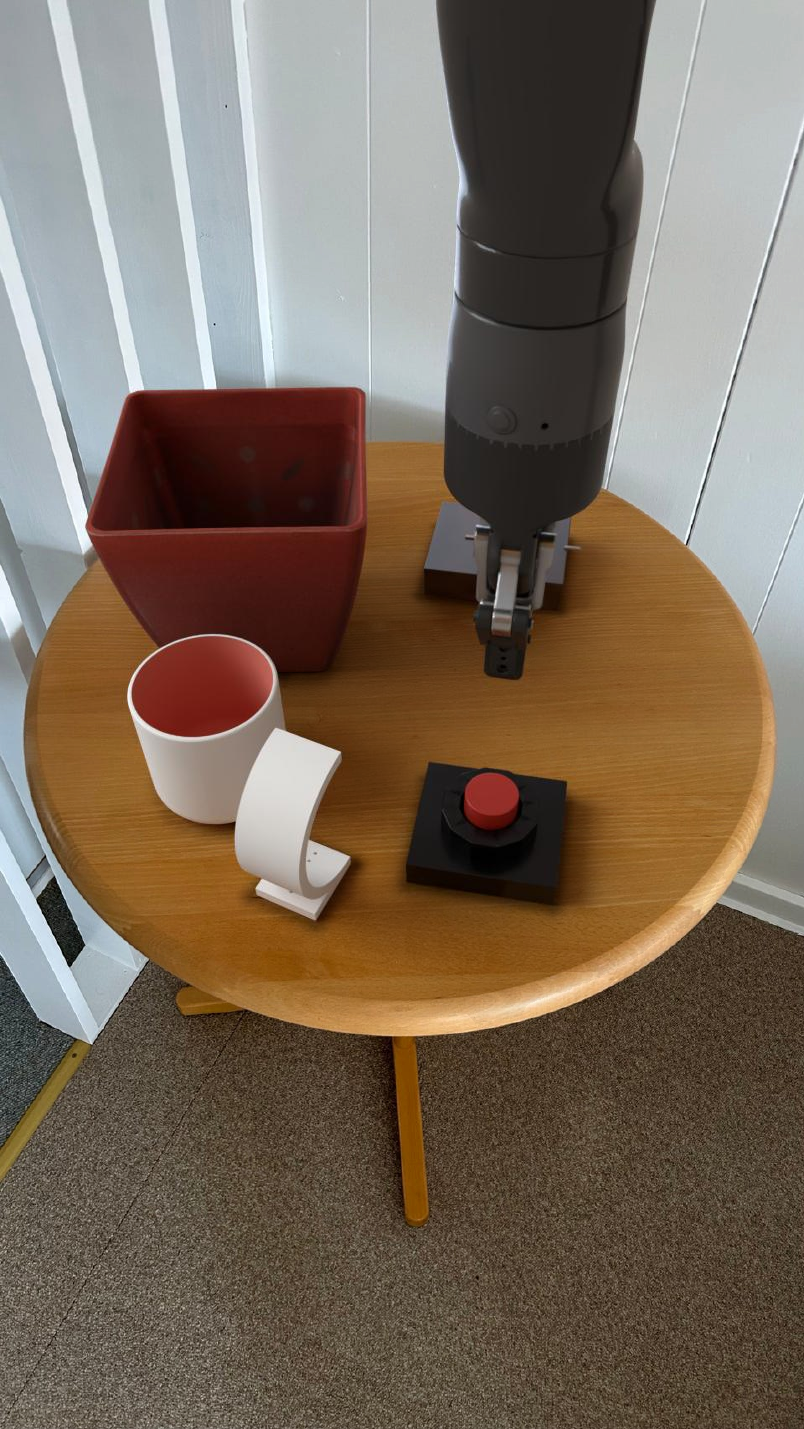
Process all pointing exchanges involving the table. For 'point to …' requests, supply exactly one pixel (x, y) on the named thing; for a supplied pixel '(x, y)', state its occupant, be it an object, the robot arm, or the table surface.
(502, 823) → the button
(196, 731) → the cup
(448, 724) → the table surface
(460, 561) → the panel
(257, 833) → the headphone stand
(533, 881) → the button block
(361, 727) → the table surface
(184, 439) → the plant pot
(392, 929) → the table surface
